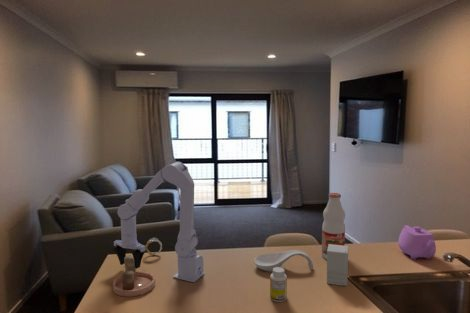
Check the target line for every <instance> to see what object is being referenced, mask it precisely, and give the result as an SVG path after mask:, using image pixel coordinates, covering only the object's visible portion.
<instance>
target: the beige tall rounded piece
mask: <svg viewBox="0 0 470 313" xmlns="http://www.w3.org/2000/svg"><path fill="white" fill-rule="evenodd" d="M124 263H125V264H124V272H125V271H133V272H136V271H137V269H136V268H135V263H134V258H133V255H132V254H130V255H126V257H125V258H124Z"/></svg>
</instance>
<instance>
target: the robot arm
mask: <svg viewBox="0 0 470 313" xmlns="http://www.w3.org/2000/svg"><path fill="white" fill-rule="evenodd" d="M166 182H168V183H170V184H172V185H175V186H176V187H177V188H178V189H179V191H180V194H179V204H180V205H179V232H178V235H177V241H176V243H175V246H174V250H175V251H174V252H175V253H176V254H177V273H175V274H173V278H175V279H178V280H183V281H187V282H190V283H195V282H196V281H198V280H199V279H200V278H201V277H202V276H204V275H205V272H204V258H203V257H204V256H202V255H200V254H198V253H197V249H196V247H197V245H198V243H199V238H198V237H197V233H196V232H197V231H196V230H195V228H194V226H195V225H194V223H195V221H194V220H195V182H194V180H193V178H192V176H191V174H190V172H189V169H188V166H187V165H185V164H184V163H183V162H181V161H174V162H173V163H170V164H166V165H165V166H164V167H163V168H161V169H160V170H158V172H157V173H156V174H154V176H153V177H152V178H150V180H149V181H148V183H147V184H146V185H145V186H144V187H143V189H142V188H141V189H140V188H139V189H135V190H133V192H132V195H131V196H130V197H129V198H127V199H125V200H124V202H125V203H124V204H120V205H119V207H118V208H117V212H116V214H117V216H118V217H119V218H120V233H121V234H120V235H121V240H120V239H116V240H115V241H113V246H114V248H113V252H114V253H115V254H116V256H117V258H118V260H119V261H118V262H119V264H120V265H121V266H123V265H125V263H124V258H125V257H126V256H127V249H130V250H134V251H133V252H131V255H133V258H134V263H135V268H136V270H137V269H139V268H141V265H142V264H141V263H142V260H143V258H144V257H143V256H144V255H145V253H146V252H147V251H146V245H144V244H141V243H140V242H138V239H137V238H138V237H137V235H138V234H137V214H138V213H139V210H140V209H141V208H143V206H144V205H145V204H146V203H147V202H148V201H149V200H150V194H151V193H152V192H154V191H155V190H156V189H157V188H158V187H160V185H161V184H162V183H166Z"/></svg>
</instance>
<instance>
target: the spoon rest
mask: <svg viewBox="0 0 470 313" xmlns="http://www.w3.org/2000/svg"><path fill="white" fill-rule="evenodd" d="M294 256H301V257H303V258H305V259H306V260H307V261H308V262H307V263H308V267H309V269H310V270H311V271H313V270H314V264H313V261H312V260H311V257H310V255H309V254H308V253H306V251H303V250H299V249H292V250H285V251H279V252H270V253H268V252H267V253H262V254H259V255H257V256H256V257H255V258H254V259H253V263H254V265H255V266H256V267H257V268H258V269H259V270H261V271H265V272H273V268H275V267H282V266H283V265H284V264H285V262H287V261H288V260H289V259H291V258H292V257H294Z"/></svg>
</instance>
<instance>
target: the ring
mask: <svg viewBox="0 0 470 313" xmlns="http://www.w3.org/2000/svg"><path fill="white" fill-rule="evenodd" d="M153 242H157V243H158V244H159V248H160V249H159V250H158V251H157V252H151V251H150V250H149V249H148V246H149V245H150V244H151V243H153ZM145 248H146V251H145V252H146V253H147V254H148V255H149V256H150V255H151V256H153V257H154V256H156V255H159V254H160V253H161V252H162V250H163V244H162V242H161V241H160V240H159V238H157V237H152V238H150V239H149V240H148V241H147V242H146V244H145Z"/></svg>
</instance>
